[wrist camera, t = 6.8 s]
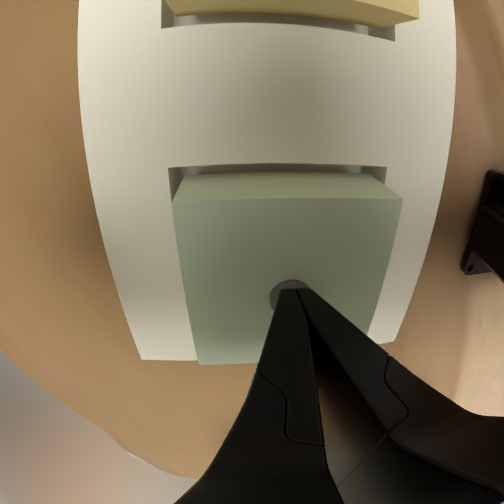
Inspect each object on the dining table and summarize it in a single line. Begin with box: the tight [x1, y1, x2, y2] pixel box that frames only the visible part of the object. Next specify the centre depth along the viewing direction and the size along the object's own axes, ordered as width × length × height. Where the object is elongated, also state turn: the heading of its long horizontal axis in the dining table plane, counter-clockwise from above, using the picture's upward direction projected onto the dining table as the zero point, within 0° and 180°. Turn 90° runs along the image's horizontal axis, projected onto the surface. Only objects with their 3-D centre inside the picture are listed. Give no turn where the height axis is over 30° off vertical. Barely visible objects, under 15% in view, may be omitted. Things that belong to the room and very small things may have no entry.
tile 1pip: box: [172, 172, 403, 365], centre depth 10 cm, size 6×6×2 cm
